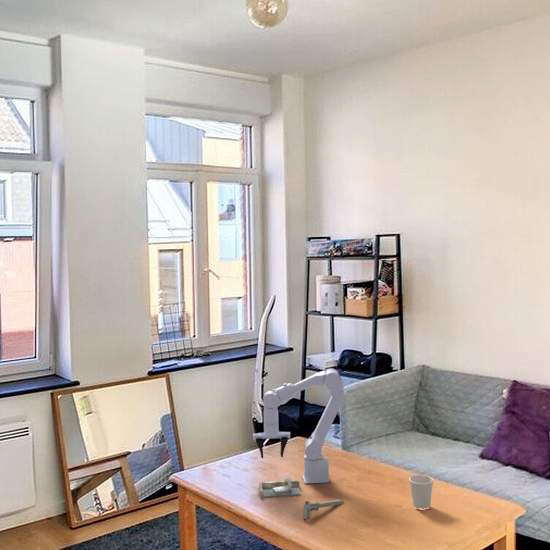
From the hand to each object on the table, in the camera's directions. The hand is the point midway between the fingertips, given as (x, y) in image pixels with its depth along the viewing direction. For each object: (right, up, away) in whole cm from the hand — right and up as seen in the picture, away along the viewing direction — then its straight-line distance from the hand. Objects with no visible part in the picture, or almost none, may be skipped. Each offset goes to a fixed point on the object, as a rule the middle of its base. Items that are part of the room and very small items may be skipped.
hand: (271, 456), depth 259 cm
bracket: (+4, -9, -13) cm, 16 cm away
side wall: (-4, -10, -13) cm, 17 cm away
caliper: (+18, -11, -30) cm, 37 cm away
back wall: (+3, -10, -8) cm, 13 cm away
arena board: (+3, -10, -12) cm, 16 cm away
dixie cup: (+52, -10, -29) cm, 60 cm away
